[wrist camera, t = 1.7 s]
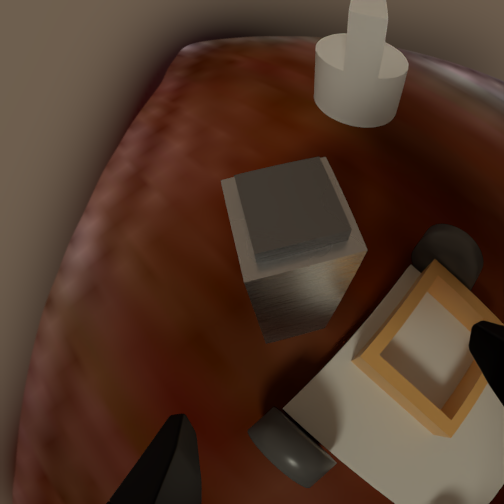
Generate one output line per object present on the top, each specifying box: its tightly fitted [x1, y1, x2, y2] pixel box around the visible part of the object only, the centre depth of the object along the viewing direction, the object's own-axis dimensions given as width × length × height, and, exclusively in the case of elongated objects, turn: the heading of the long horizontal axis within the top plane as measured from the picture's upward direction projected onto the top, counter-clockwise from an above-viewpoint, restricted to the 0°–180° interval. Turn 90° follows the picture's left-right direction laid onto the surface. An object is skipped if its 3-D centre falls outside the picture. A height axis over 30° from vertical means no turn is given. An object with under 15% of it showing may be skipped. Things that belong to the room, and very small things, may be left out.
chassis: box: [248, 224, 504, 504], centre depth 15 cm, size 19×17×5 cm
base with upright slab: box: [314, 0, 409, 128], centre depth 24 cm, size 9×9×12 cm
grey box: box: [221, 157, 367, 344], centre depth 16 cm, size 4×4×13 cm
